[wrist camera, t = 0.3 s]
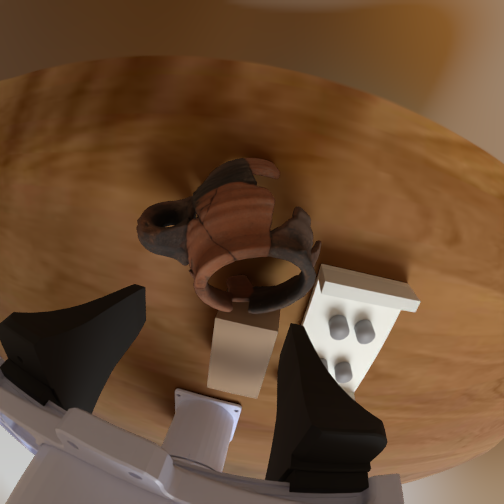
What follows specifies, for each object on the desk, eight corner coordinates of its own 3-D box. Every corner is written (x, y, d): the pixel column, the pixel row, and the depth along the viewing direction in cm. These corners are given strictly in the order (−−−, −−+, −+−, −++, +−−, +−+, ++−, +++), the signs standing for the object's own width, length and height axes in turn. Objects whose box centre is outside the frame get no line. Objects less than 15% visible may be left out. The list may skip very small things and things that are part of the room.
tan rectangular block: (262, 364, 26) (257, 398, 22) (218, 354, 26) (206, 387, 22) (281, 298, 23) (278, 331, 19) (228, 287, 23) (215, 317, 19)
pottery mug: (315, 153, 19) (353, 237, 14) (288, 241, 26) (304, 322, 21) (144, 145, 17) (108, 230, 12) (157, 238, 24) (143, 321, 19)
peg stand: (349, 392, 26) (352, 413, 23) (278, 383, 27) (276, 404, 24) (407, 283, 21) (420, 301, 18) (321, 263, 21) (325, 281, 18)
